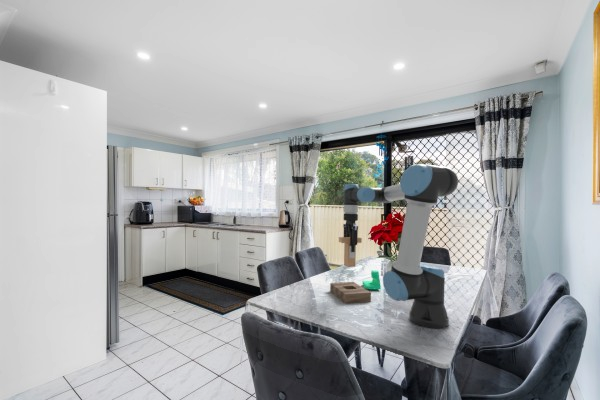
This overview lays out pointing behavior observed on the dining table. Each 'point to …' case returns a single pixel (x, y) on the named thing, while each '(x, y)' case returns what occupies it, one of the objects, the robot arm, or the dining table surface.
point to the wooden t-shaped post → (348, 261)
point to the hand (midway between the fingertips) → (349, 257)
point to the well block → (350, 292)
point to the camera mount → (373, 281)
